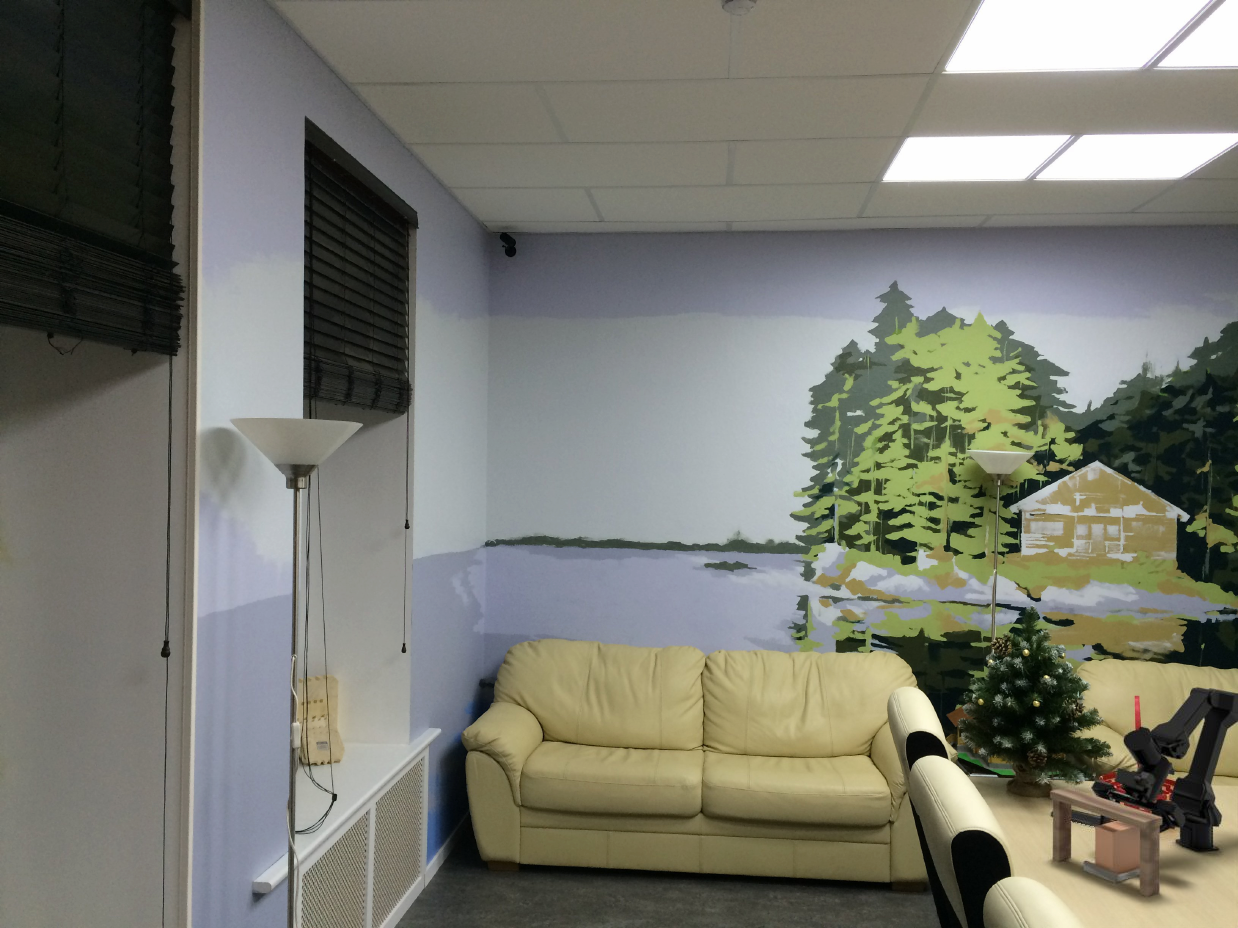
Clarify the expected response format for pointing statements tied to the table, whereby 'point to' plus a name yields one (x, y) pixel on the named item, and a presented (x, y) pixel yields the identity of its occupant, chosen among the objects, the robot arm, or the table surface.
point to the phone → (1085, 818)
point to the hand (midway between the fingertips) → (1121, 833)
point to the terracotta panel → (1117, 846)
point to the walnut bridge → (1115, 811)
